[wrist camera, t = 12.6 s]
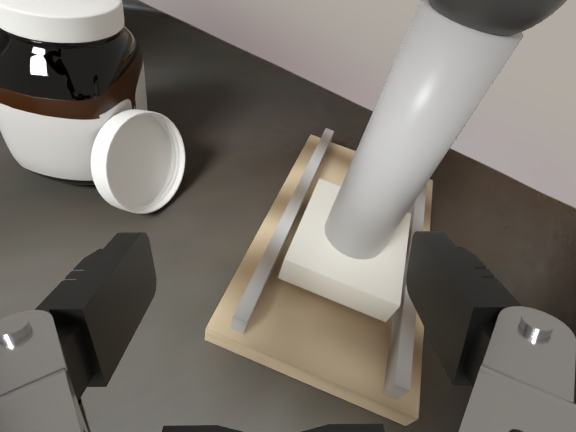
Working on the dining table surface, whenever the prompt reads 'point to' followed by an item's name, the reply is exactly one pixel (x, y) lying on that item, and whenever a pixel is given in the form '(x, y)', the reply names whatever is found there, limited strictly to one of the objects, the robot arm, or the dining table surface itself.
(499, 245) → the dining table surface
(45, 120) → the spread jar
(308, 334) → the base
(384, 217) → the slider
